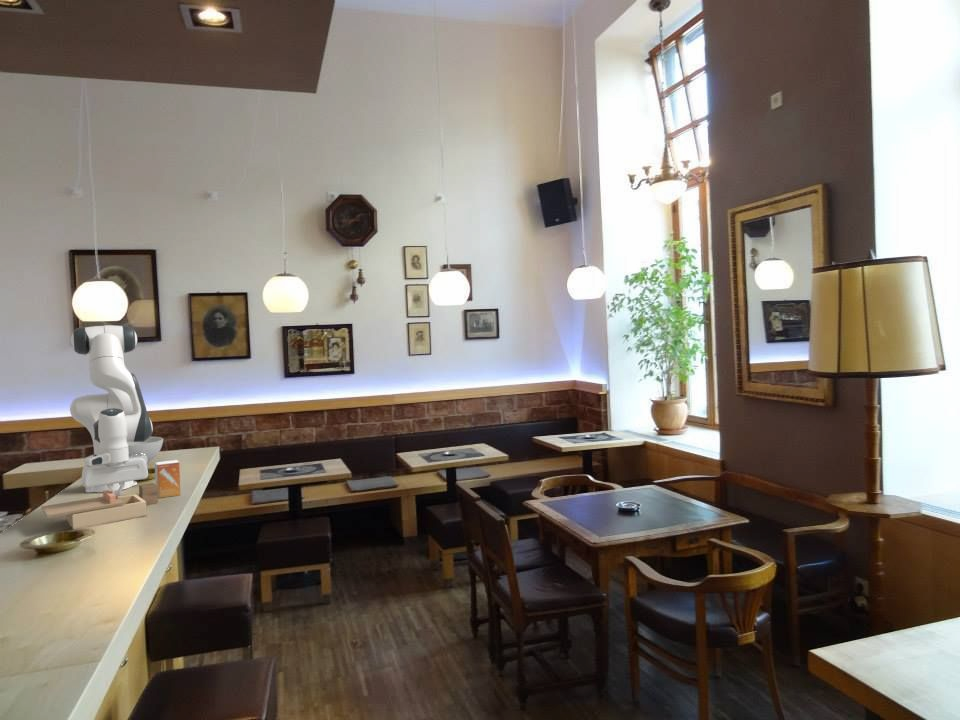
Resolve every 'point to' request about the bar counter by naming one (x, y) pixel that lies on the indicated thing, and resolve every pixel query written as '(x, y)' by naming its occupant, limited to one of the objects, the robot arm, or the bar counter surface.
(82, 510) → the lid
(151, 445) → the decorative bowl
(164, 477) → the small box
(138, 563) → the bar counter surface
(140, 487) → the walnut block
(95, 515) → the open wooden box
